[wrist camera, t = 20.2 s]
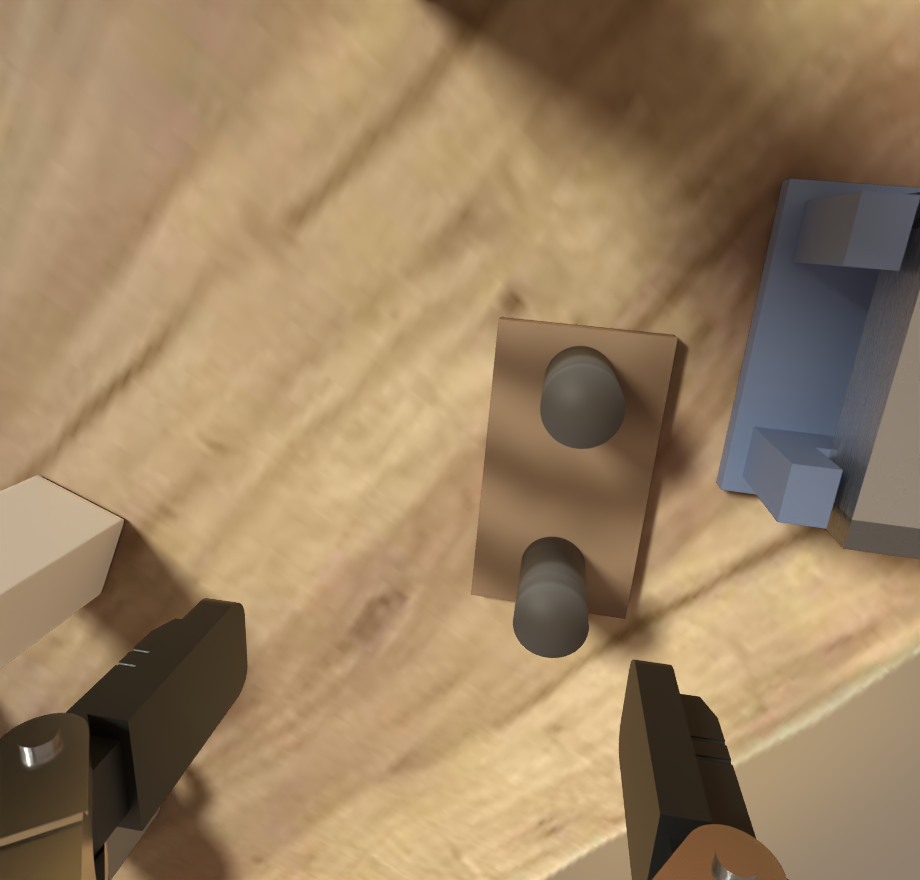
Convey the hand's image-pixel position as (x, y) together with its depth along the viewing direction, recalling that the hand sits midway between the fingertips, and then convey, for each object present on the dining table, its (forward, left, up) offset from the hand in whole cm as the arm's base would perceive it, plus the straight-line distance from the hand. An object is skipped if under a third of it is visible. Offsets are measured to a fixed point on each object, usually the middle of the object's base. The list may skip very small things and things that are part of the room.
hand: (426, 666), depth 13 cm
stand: (+5, +4, -27) cm, 28 cm away
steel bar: (-4, +19, -23) cm, 30 cm away
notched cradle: (-4, +19, -27) cm, 33 cm away
